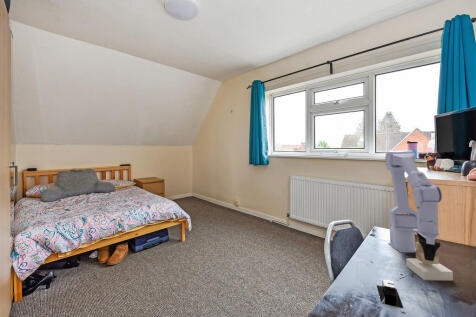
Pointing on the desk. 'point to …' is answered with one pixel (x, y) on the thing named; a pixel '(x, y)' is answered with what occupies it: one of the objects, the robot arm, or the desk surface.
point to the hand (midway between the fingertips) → (427, 256)
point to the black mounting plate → (389, 294)
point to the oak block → (421, 255)
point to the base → (429, 270)
